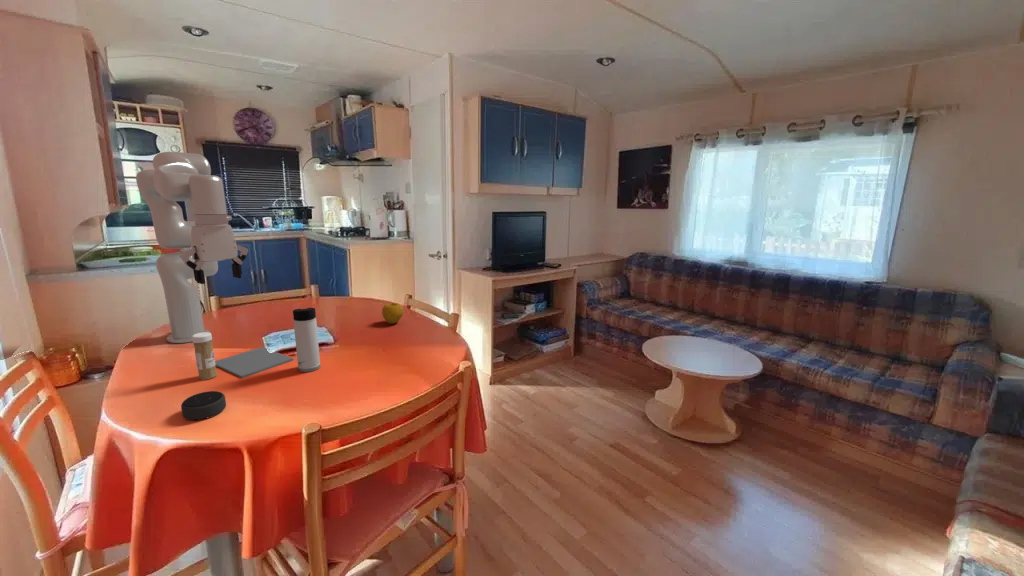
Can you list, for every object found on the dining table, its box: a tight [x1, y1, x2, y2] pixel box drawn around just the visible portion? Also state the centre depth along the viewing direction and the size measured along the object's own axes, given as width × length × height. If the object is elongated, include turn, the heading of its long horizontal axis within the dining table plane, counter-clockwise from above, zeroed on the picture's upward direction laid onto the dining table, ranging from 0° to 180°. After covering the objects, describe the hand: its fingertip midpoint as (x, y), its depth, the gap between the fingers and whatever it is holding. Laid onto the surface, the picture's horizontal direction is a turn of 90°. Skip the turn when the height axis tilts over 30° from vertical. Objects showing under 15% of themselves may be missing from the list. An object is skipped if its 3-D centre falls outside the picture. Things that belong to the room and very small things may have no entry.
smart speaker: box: [180, 390, 227, 421], centre depth 103 cm, size 9×9×4 cm
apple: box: [381, 302, 404, 325], centre depth 174 cm, size 9×9×9 cm
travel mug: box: [292, 307, 321, 373], centre depth 128 cm, size 6×7×20 cm
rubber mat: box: [215, 346, 294, 379], centre depth 133 cm, size 18×16×1 cm
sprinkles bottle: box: [192, 331, 218, 381], centre depth 121 cm, size 5×5×13 cm
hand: (219, 280), depth 119 cm, fingers open, 9 cm apart
